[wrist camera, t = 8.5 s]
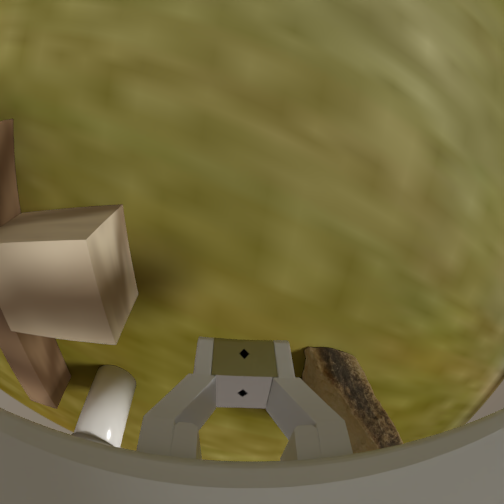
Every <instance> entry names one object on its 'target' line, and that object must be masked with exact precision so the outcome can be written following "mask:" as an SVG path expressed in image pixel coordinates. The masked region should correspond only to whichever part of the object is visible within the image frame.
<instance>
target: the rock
mask: <svg viewBox="0 0 504 504" xmlns="http://www.w3.org/2000/svg"><path fill="white" fill-rule="evenodd" d="M304 354H305V356H306V361H305V366H304V367H305V368H304V370H303V375H302V380H303V381H304V382H305V383H306V384H307V385H308V386H309V387H310V388H311V389H312V390H313V391H314V392H315V393H316V394H317V395H318V396H319V397H320V398H321V399H322V400H323V401H324V402H325V403H326V404H327V405H329V406H330V407H331V408H332V409H333V410H334V411H335V412H336V413H337V414H338V415H339V416H340V417H341V418H342V419H343V420H345V423H346V427H347V431H348V435H349V439H350V443H351V448H352V452H353V454H355V453H361V452H366V451H372V450H377V449H382V448H387V447H391V446H395V445H400V444H403V442H402V440H401V438H400V435H399V433H398V432H397V430H396V427H395V426H394V424H393V422H392V421H391V419H390V418H389V416H388V415H387V413H386V411H385V410H384V409H383V408H382V406H381V404H380V402H379V401H378V400H377V398H376V397H375V396H374V393H373V390H372V388H371V386H370V384H369V382H368V380H367V378H366V376H365V373H364V371H363V370H362V368H361V366H360V365H359V363H358V361H357V359H356V358H355V357H354V356H353V355H350V354H348V353H345V352H342V351H338V350H336V349H332V348H322V347H319V348H313V347H307V348H306V349H305V350H304Z"/></svg>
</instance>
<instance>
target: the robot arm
mask: <svg viewBox="0 0 504 504" xmlns="http://www.w3.org/2000/svg"><path fill="white" fill-rule="evenodd" d="M216 407H241V408H266V411H267V412H268V413H269V415H270V416H271V417H272V419H273V420H274V421H275V423H276V424H277V425H278V427H279V428H280V429H281V431H282V432H283V433H284V434H285V436H286V437H287V438H288V440H289V442H288V444H287V446H286V448H285V450H284V452H283V454H282V456H281V458H280V460H281V461H266V462H240V461H215V460H202V456H201V448H200V441H199V433H198V431H199V430H200V428H201V427H202V426H203V424H204V423H205V422H206V421H207V419H208V418H209V417H210V415H211V414H212V413H213V412H214V410H215V409H216ZM0 504H504V409H502V410H499V411H497V412H495V413H493V414H490V415H488V416H486V417H483V418H481V419H478V420H476V421H473V422H471V423H468V424H465V425H463V426H460V427H457V428H454V429H451V430H448V431H445V432H442V433H439V434H436V435H433V436H429V437H426V438H423V439H419V440H415V441H412V442H408V443H404V444H400V445H395V446H391V447H387V448H382V449H377V450H372V451H366V452H361V453H355V454H353V452H352V448H351V443H350V439H349V435H348V431H347V427H346V423H345V420H343V419H342V418H341V417H340V416H339V415H338V414H337V413H336V412H335V411H334V410H333V409H332V408H331V407H330V406H329V405H327V404H326V403H325V402H324V401H323V400H322V399H321V398H320V397H319V396H318V395H317V394H316V393H315V392H314V391H313V390H312V389H311V388H310V387H309V386H308V385H307V384H306V383H305V382H304V381H303V380H302V379H301V378H300V377H295V374H294V368H293V362H292V356H291V351H290V345H289V342H288V341H287V340H273V341H272V340H237V339H224V338H209V337H199V339H198V343H197V350H196V357H195V365H194V372H193V374H188V375H187V376H186V377H185V378H184V379H183V380H182V381H181V382H180V383H179V384H178V385H176V386H175V387H174V388H173V389H172V390H171V391H170V392H169V393H168V394H167V395H166V396H165V397H164V398H163V399H162V400H160V401H159V402H158V403H157V404H156V405H155V406H154V407H153V408H152V409H151V410H150V411H149V412H147V413H146V414H145V415H144V417H143V422H142V426H141V431H140V436H139V441H138V445H137V450H136V451H134V450H129V449H124V448H119V447H115V446H110V445H106V444H102V443H98V442H94V441H90V440H87V439H83V438H80V437H76V436H73V435H70V434H66V433H63V432H60V431H57V430H54V429H51V428H48V427H46V426H43V425H40V424H38V423H35V422H32V421H30V420H27V419H25V418H22V417H20V416H18V415H15V414H13V413H11V412H8V411H6V410H4V409H2V408H0Z"/></svg>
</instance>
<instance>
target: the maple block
mask: <svg viewBox="0 0 504 504" xmlns="http://www.w3.org/2000/svg"><path fill="white" fill-rule="evenodd" d="M137 296H138V290H137V285H136V280H135V275H134V270H133V265H132V260H131V255H130V249H129V243H128V237H127V231H126V224H125V218H124V211H123V204H121V205H106V206H92V207H79V208H67V209H56V210H45V211H35V212H26V213H21V214H19V215H18V216H16V217H15V218H13V219H12V220H10V221H9V222H7V223H6V224H4V225H3V226H1V227H0V308H1V310H2V312H3V314H4V317H5V319H6V321H7V323H8V325H9V327H10V329H11V331H15V332H20V333H26V334H32V335H38V336H44V337H51V338H58V339H65V340H73V341H82V342H91V343H100V344H111V345H116V344H117V341H118V339H119V337H120V334H121V332H122V330H123V327H124V325H125V323H126V320H127V318H128V316H129V314H130V311H131V309H132V307H133V305H134V303H135V300H136V298H137Z"/></svg>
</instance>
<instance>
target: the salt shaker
mask: <svg viewBox="0 0 504 504" xmlns="http://www.w3.org/2000/svg"><path fill="white" fill-rule="evenodd" d="M135 388H136V381H135V379H134V378H133V376H132V375H131V374H130V373H128V372H127V371H125V370H124V369H122V368H120V367H117V366H113V365H103V366H101V367H99V369H98V371H97V373H96V375H95V378H94V380H93V383H92V385H91V388H90V390H89V393H88V396H87V398H86V401H85V403H84V406H83V409H82V411H81V414H80V417H79V420H78V422H77V425H76V428H75V431H74V433H73V434H72V435H73V436H76V437H80V438H83V439H87V440H90V441H94V442H98V443H102V444H106V445H110V446H115V447H119V448H120V445H121V441H122V437H123V433H124V429H125V425H126V421H127V417H128V413H129V410H130V406H131V402H132V398H133V395H134V391H135Z"/></svg>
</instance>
